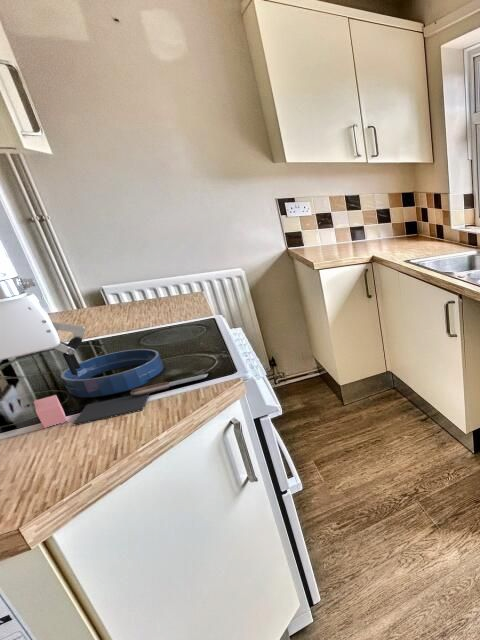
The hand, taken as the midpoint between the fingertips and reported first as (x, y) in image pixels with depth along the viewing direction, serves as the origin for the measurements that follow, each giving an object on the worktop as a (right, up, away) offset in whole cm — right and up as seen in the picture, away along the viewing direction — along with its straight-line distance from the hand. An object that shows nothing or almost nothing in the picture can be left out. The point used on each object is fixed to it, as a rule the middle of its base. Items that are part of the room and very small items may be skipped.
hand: (38, 382), depth 77 cm
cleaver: (+13, -2, +14) cm, 19 cm away
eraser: (0, -7, +3) cm, 8 cm away
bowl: (-1, -1, +17) cm, 17 cm away
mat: (+8, -6, +6) cm, 12 cm away
